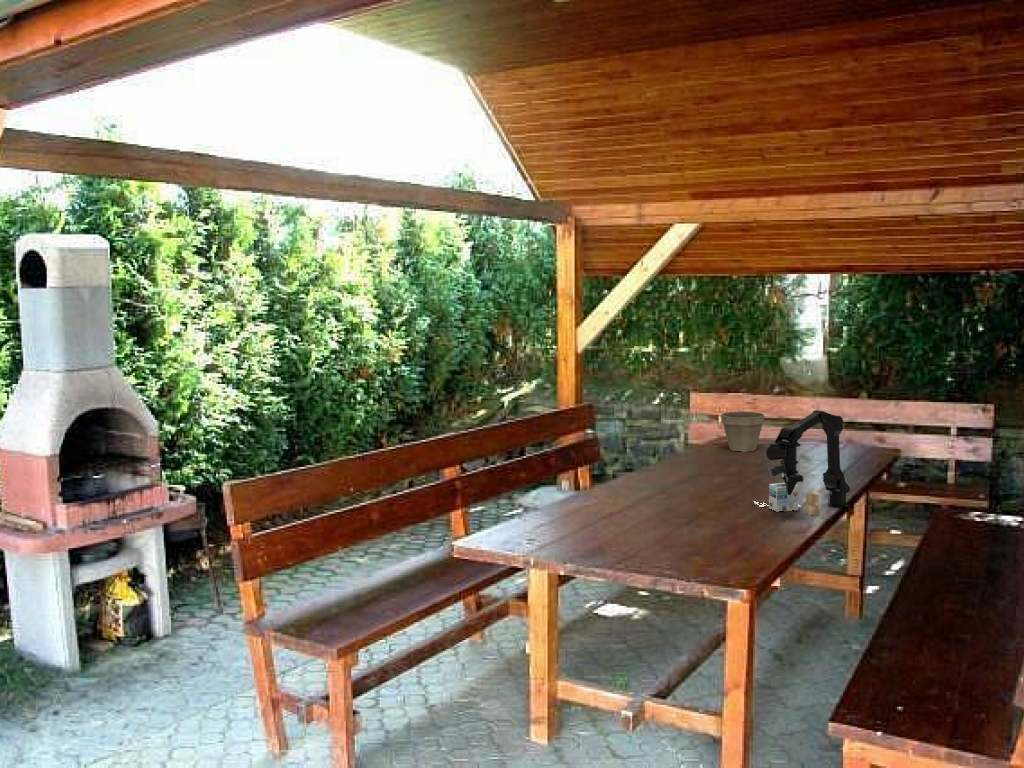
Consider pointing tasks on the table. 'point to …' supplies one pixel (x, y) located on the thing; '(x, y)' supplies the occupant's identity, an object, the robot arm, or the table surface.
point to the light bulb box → (782, 498)
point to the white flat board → (767, 505)
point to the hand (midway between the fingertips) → (789, 494)
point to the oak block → (812, 503)
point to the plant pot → (742, 429)
